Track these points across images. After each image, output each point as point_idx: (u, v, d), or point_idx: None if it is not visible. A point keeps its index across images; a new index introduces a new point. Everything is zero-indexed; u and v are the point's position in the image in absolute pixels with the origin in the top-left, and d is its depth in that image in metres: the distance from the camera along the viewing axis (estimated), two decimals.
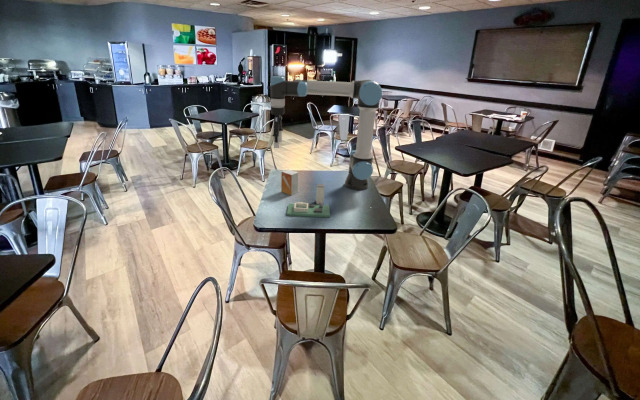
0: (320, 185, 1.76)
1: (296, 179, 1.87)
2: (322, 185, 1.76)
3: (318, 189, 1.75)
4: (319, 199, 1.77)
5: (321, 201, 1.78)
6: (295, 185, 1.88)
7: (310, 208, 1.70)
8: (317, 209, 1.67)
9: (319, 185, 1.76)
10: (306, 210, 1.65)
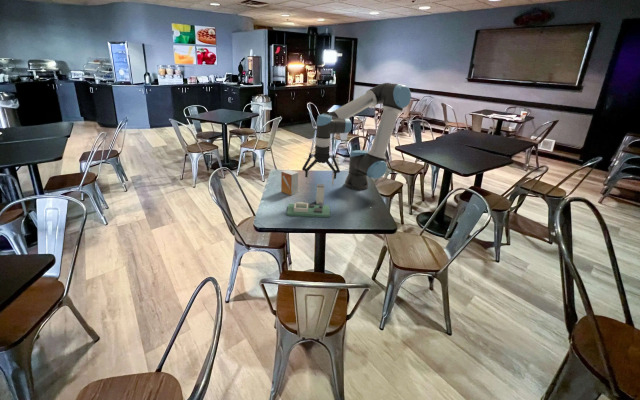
0: (320, 185, 1.76)
1: (296, 179, 1.87)
2: (322, 185, 1.76)
3: (318, 189, 1.75)
4: (319, 199, 1.77)
5: (321, 201, 1.78)
6: (295, 185, 1.88)
7: (310, 208, 1.70)
8: (317, 209, 1.67)
9: (319, 185, 1.76)
10: (306, 210, 1.65)
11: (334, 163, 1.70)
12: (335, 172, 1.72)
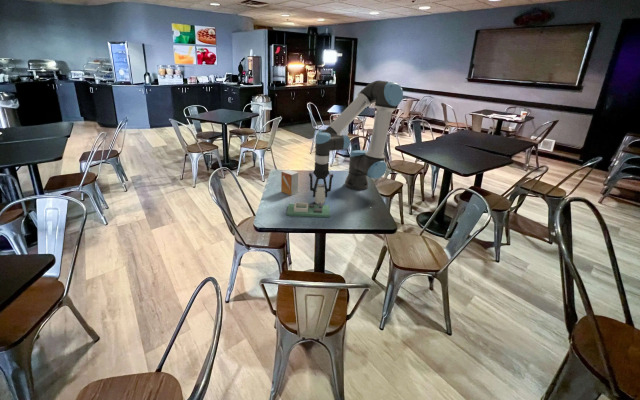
0: (320, 185, 1.76)
1: (296, 179, 1.87)
2: (322, 185, 1.76)
3: (318, 189, 1.75)
4: (319, 199, 1.77)
5: (321, 201, 1.78)
6: (295, 185, 1.88)
7: (310, 208, 1.70)
8: (317, 209, 1.67)
9: (319, 185, 1.76)
10: (306, 210, 1.65)
11: (329, 181, 1.74)
12: (326, 191, 1.76)
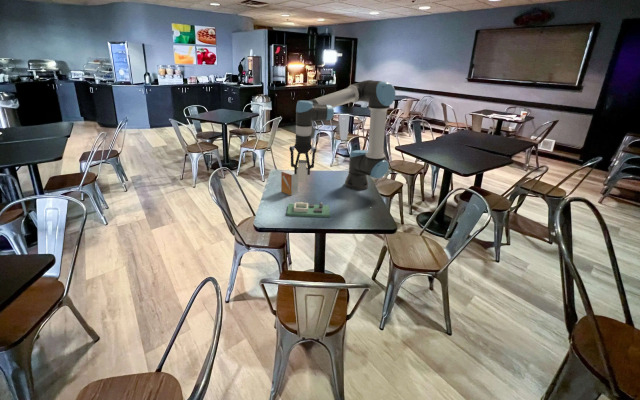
0: (302, 161, 1.58)
1: None
2: (304, 161, 1.58)
3: (299, 165, 1.57)
4: (300, 176, 1.60)
5: (303, 179, 1.60)
6: (295, 185, 1.88)
7: (310, 208, 1.70)
8: (317, 209, 1.67)
9: (301, 161, 1.58)
10: (306, 210, 1.65)
11: (312, 156, 1.56)
12: (309, 167, 1.58)
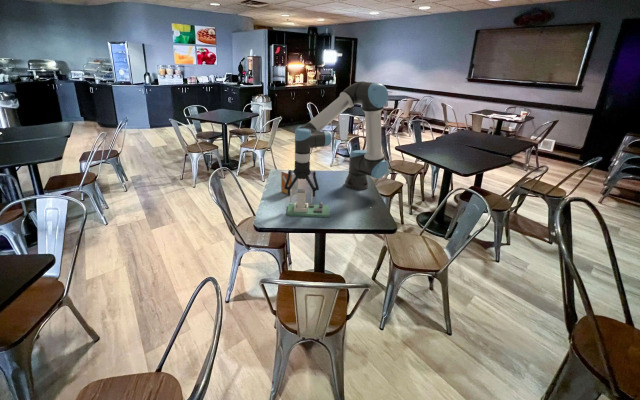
0: (301, 190, 1.64)
1: None
2: (303, 190, 1.64)
3: (299, 195, 1.63)
4: (299, 205, 1.66)
5: (302, 207, 1.66)
6: (295, 185, 1.88)
7: (310, 208, 1.70)
8: (317, 209, 1.67)
9: (300, 190, 1.64)
10: (306, 210, 1.65)
11: (314, 180, 1.61)
12: (314, 190, 1.63)
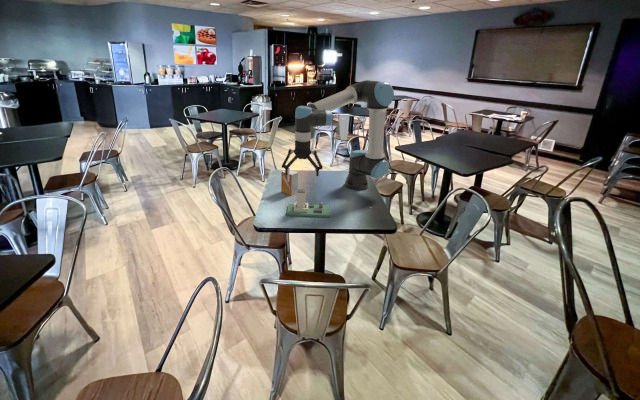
0: (301, 190, 1.64)
1: (296, 179, 1.87)
2: (303, 190, 1.64)
3: (298, 195, 1.63)
4: (299, 205, 1.66)
5: (302, 207, 1.66)
6: (295, 185, 1.88)
7: (310, 208, 1.70)
8: (317, 209, 1.67)
9: (300, 190, 1.64)
10: (306, 210, 1.65)
11: (316, 159, 1.57)
12: (317, 169, 1.58)
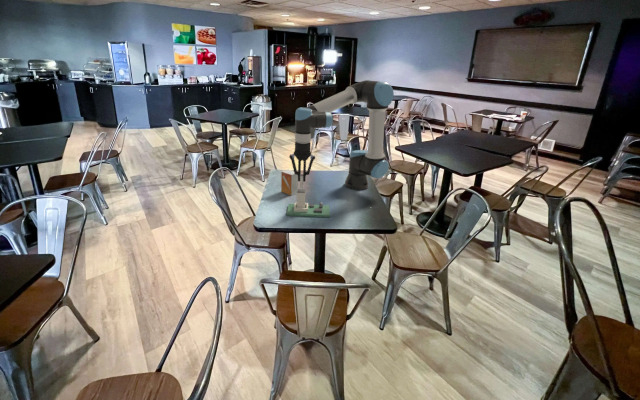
0: (301, 190, 1.64)
1: (296, 179, 1.87)
2: (303, 190, 1.64)
3: (298, 195, 1.63)
4: (299, 205, 1.66)
5: (302, 207, 1.66)
6: (295, 185, 1.88)
7: (310, 208, 1.70)
8: (317, 209, 1.67)
9: (300, 190, 1.64)
10: (306, 210, 1.65)
11: (309, 164, 1.58)
12: (304, 174, 1.60)
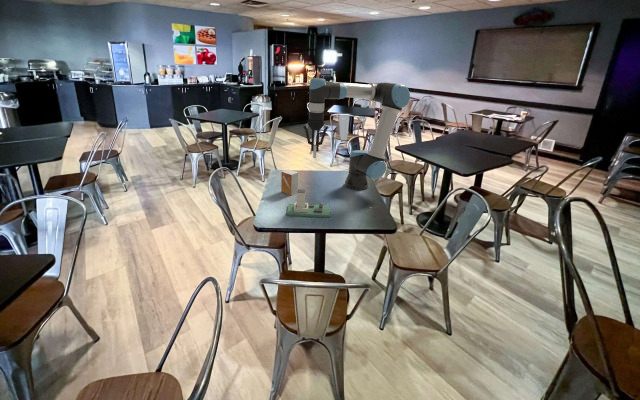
0: (301, 190, 1.64)
1: (296, 179, 1.87)
2: (303, 190, 1.64)
3: (298, 195, 1.63)
4: (299, 205, 1.66)
5: (302, 207, 1.66)
6: (295, 185, 1.88)
7: (310, 208, 1.70)
8: (317, 209, 1.67)
9: (300, 190, 1.64)
10: (306, 210, 1.65)
11: (323, 133, 1.63)
12: (317, 144, 1.65)
